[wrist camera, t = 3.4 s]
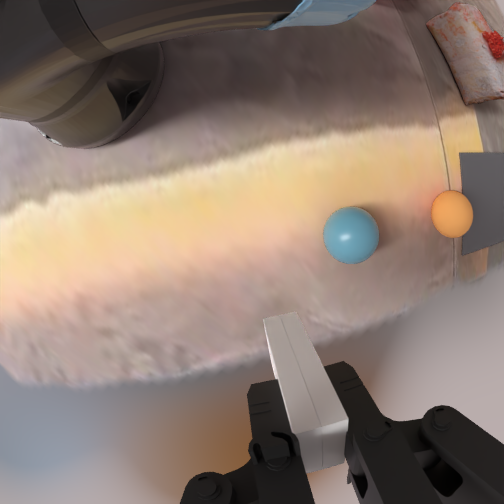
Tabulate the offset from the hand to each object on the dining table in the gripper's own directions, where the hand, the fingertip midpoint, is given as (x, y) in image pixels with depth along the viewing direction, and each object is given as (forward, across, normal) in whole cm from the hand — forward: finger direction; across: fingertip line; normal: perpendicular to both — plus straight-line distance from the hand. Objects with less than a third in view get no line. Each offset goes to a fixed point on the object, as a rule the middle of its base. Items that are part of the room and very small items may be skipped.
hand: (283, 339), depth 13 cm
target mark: (+16, +36, 0) cm, 39 cm away
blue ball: (+14, +10, 0) cm, 17 cm away
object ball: (+14, +24, 0) cm, 27 cm away
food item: (+17, +32, +21) cm, 42 cm away
